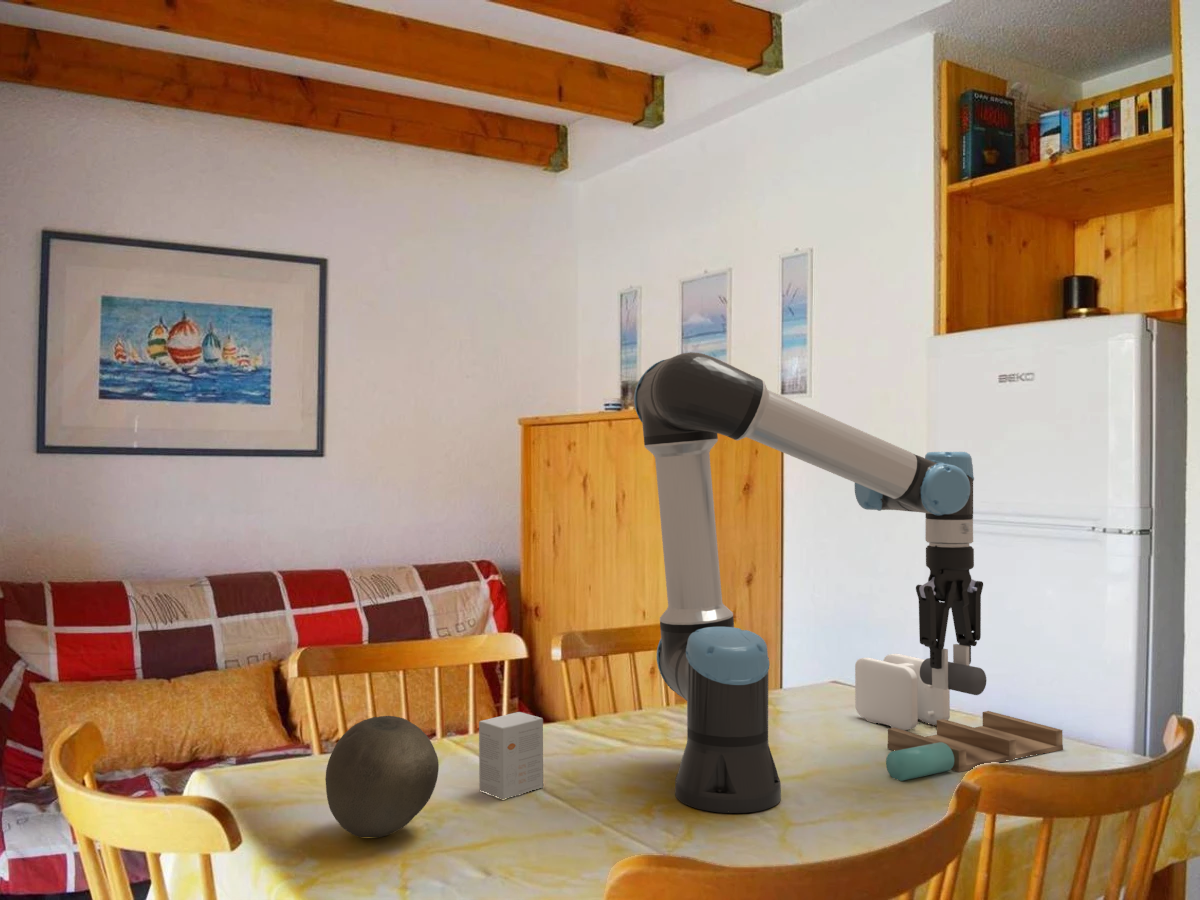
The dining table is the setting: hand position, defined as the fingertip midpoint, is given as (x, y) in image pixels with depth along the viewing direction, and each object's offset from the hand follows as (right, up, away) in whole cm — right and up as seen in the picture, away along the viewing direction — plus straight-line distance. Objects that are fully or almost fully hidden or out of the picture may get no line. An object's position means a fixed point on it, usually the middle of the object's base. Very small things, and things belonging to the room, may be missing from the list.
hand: (950, 685), depth 168 cm
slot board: (+5, -11, +3) cm, 13 cm away
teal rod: (-8, -11, -12) cm, 18 cm away
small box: (-71, -11, -18) cm, 74 cm away
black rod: (+1, 0, 0) cm, 1 cm away
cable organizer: (-2, -12, +20) cm, 24 cm away
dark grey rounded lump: (-86, -11, -36) cm, 94 cm away
